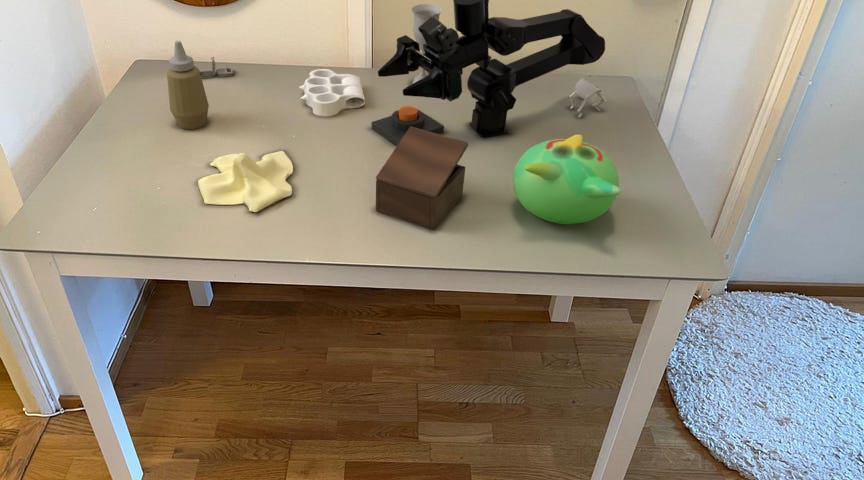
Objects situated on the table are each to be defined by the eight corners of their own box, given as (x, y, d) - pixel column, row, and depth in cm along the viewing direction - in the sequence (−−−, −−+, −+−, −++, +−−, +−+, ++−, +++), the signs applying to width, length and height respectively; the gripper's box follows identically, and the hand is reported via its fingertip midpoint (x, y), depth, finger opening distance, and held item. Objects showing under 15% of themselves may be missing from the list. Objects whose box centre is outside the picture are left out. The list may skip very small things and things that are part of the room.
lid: (410, 129, 126) (410, 126, 125) (468, 145, 122) (468, 142, 121) (376, 180, 120) (375, 177, 119) (435, 199, 116) (435, 196, 115)
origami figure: (610, 117, 154) (615, 97, 151) (574, 119, 153) (579, 98, 150) (590, 93, 163) (594, 74, 160) (556, 95, 162) (560, 75, 159)
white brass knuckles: (366, 115, 152) (300, 118, 151) (358, 80, 166) (297, 82, 164) (366, 101, 150) (299, 104, 149) (358, 67, 164) (297, 69, 162)
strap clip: (232, 71, 169) (230, 54, 166) (233, 76, 167) (231, 59, 164) (197, 74, 167) (194, 57, 164) (197, 79, 165) (195, 62, 162)
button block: (415, 114, 153) (416, 100, 151) (443, 132, 147) (445, 118, 145) (371, 129, 148) (371, 114, 145) (399, 148, 141) (399, 133, 139)
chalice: (409, 77, 168) (413, 3, 156) (437, 79, 167) (443, 5, 156) (406, 90, 162) (409, 14, 151) (434, 92, 162) (440, 16, 150)
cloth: (281, 217, 122) (278, 188, 118) (181, 206, 124) (175, 177, 120) (310, 154, 139) (309, 127, 135) (223, 145, 141) (219, 118, 137)
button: (409, 111, 147) (410, 104, 146) (421, 119, 145) (421, 111, 144) (394, 116, 146) (395, 109, 144) (406, 124, 143) (406, 116, 142)
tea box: (407, 178, 133) (409, 149, 128) (462, 196, 128) (465, 166, 124) (375, 210, 124) (375, 180, 120) (432, 230, 120) (435, 200, 116)
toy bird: (607, 197, 129) (627, 127, 120) (609, 251, 116) (631, 177, 107) (512, 183, 132) (523, 114, 122) (503, 234, 119) (516, 162, 110)
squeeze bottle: (184, 136, 144) (169, 53, 132) (166, 122, 148) (149, 40, 137) (218, 124, 148) (206, 43, 136) (199, 111, 152) (186, 31, 141)
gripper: (429, -2, 133) (359, 26, 129) (486, 30, 121) (411, 62, 116) (434, 51, 141) (368, 79, 137) (488, 86, 129) (418, 118, 124)
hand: (390, 83), depth 128 cm, fingers open, 9 cm apart
